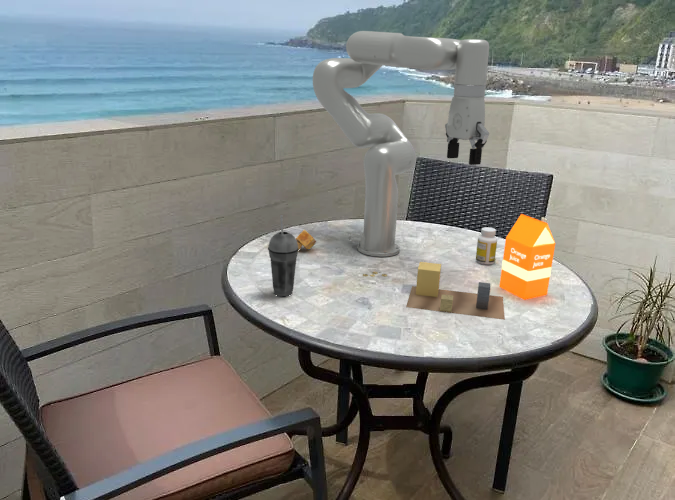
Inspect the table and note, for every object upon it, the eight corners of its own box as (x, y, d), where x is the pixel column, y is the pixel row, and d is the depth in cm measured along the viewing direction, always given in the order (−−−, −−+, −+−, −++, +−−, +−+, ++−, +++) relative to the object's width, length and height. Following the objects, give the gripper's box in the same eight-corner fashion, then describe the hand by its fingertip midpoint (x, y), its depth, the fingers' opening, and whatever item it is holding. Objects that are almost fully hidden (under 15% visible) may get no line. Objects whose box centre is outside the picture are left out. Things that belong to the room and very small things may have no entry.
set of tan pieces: (361, 281, 153) (361, 274, 152) (373, 276, 157) (373, 270, 156) (376, 287, 150) (376, 280, 149) (388, 282, 153) (388, 275, 153)
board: (405, 311, 135) (406, 307, 135) (411, 290, 147) (412, 285, 147) (504, 324, 131) (504, 319, 130) (502, 301, 143) (502, 296, 142)
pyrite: (297, 254, 169) (301, 258, 173) (313, 238, 169) (317, 241, 173) (286, 243, 171) (290, 247, 175) (302, 227, 171) (306, 231, 175)
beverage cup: (302, 290, 145) (304, 212, 138) (291, 301, 138) (291, 220, 132) (275, 285, 147) (275, 208, 140) (263, 296, 140) (262, 216, 134)
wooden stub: (439, 310, 133) (441, 298, 132) (440, 306, 136) (441, 294, 135) (451, 312, 133) (452, 300, 132) (452, 307, 135) (453, 295, 134)
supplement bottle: (493, 259, 171) (497, 227, 168) (495, 265, 166) (500, 232, 163) (474, 257, 172) (478, 225, 168) (476, 264, 166) (480, 231, 163)
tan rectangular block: (415, 294, 142) (417, 269, 139) (417, 286, 146) (419, 261, 144) (437, 297, 141) (439, 271, 138) (438, 288, 145) (441, 264, 143)
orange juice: (523, 304, 141) (535, 225, 135) (498, 291, 149) (508, 215, 142) (547, 299, 145) (559, 221, 138) (521, 286, 152) (532, 211, 145)
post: (476, 308, 135) (478, 286, 134) (476, 303, 138) (478, 282, 136) (487, 309, 135) (490, 287, 133) (487, 305, 137) (490, 283, 135)
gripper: (437, 90, 151) (432, 156, 157) (477, 95, 136) (471, 168, 142) (461, 89, 154) (456, 155, 160) (504, 94, 139) (496, 166, 145)
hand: (463, 161), depth 151 cm, fingers open, 9 cm apart
